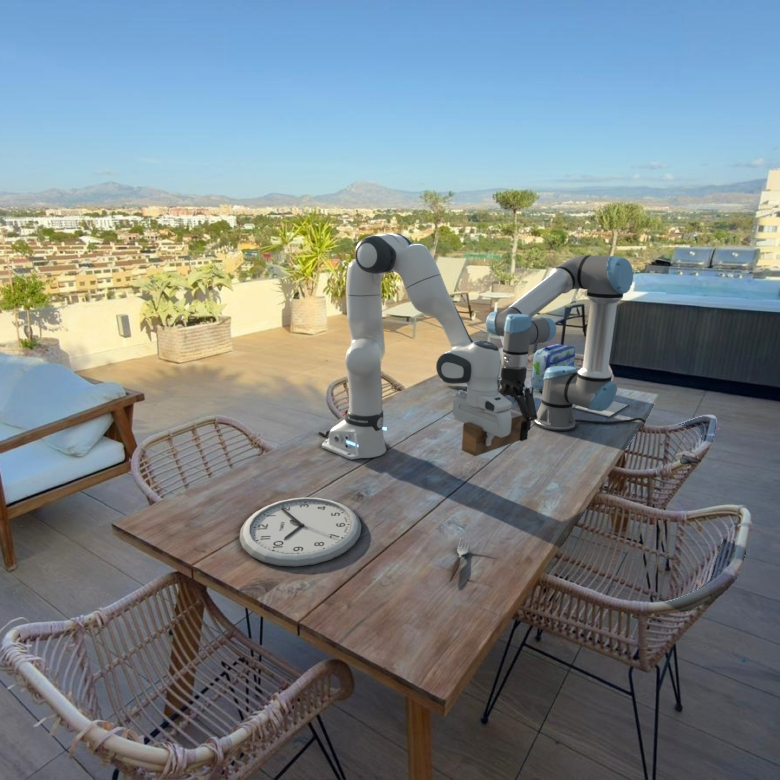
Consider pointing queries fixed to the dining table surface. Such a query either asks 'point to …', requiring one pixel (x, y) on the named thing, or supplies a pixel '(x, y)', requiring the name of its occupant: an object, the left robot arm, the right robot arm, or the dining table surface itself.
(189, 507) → the dining table surface
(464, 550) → the fork
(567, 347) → the lunch box
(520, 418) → the bar
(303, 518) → the wall clock
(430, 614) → the dining table surface
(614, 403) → the invitation card
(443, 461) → the dining table surface
